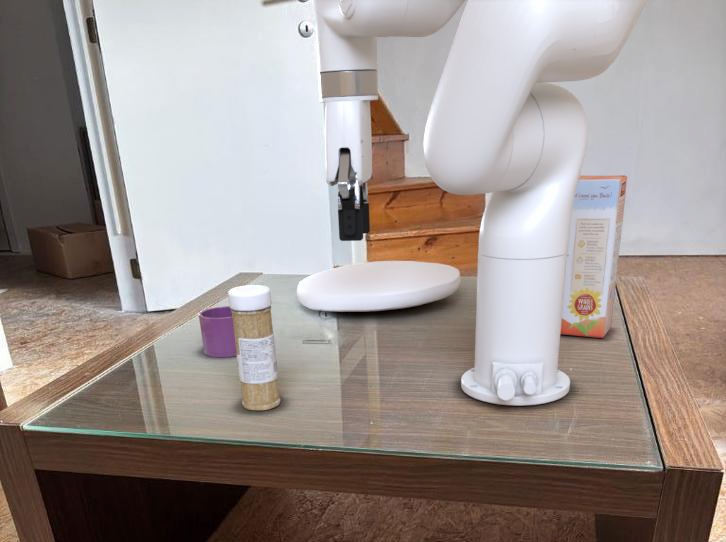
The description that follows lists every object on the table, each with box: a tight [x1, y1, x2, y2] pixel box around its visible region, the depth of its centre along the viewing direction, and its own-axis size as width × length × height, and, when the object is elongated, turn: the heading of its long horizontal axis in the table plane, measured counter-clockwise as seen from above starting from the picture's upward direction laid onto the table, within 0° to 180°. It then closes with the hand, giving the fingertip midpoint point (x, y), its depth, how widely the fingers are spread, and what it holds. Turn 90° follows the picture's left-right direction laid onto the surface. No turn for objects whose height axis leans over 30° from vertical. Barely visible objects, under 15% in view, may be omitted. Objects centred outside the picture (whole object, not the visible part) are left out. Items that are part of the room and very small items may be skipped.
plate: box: [296, 260, 462, 313], centre depth 125 cm, size 28×6×27 cm
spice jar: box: [227, 284, 282, 412], centre depth 81 cm, size 5×5×14 cm
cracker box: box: [560, 174, 628, 339], centre depth 102 cm, size 14×6×21 cm, turn 63°
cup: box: [198, 305, 237, 358], centre depth 103 cm, size 7×7×6 cm
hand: (355, 235), depth 101 cm, fingers open, 5 cm apart
